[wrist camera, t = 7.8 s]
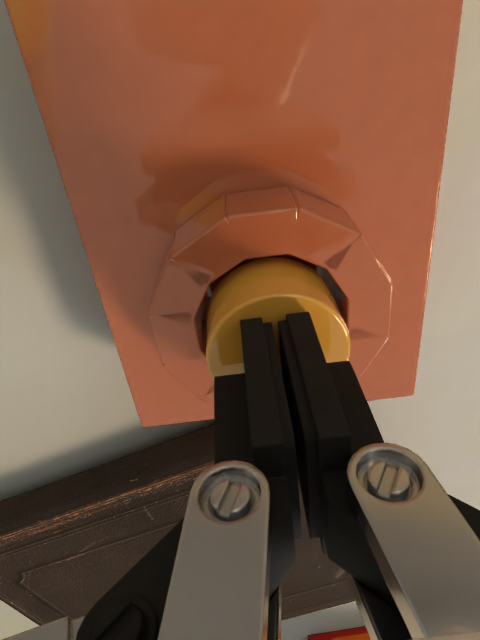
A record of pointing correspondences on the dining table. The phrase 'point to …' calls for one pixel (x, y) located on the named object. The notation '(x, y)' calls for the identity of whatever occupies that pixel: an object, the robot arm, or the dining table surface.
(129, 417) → the dining table surface
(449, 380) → the dining table surface
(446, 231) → the dining table surface
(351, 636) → the baking soda box
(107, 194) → the push button box
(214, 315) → the yellow push button
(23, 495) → the hardcover book
